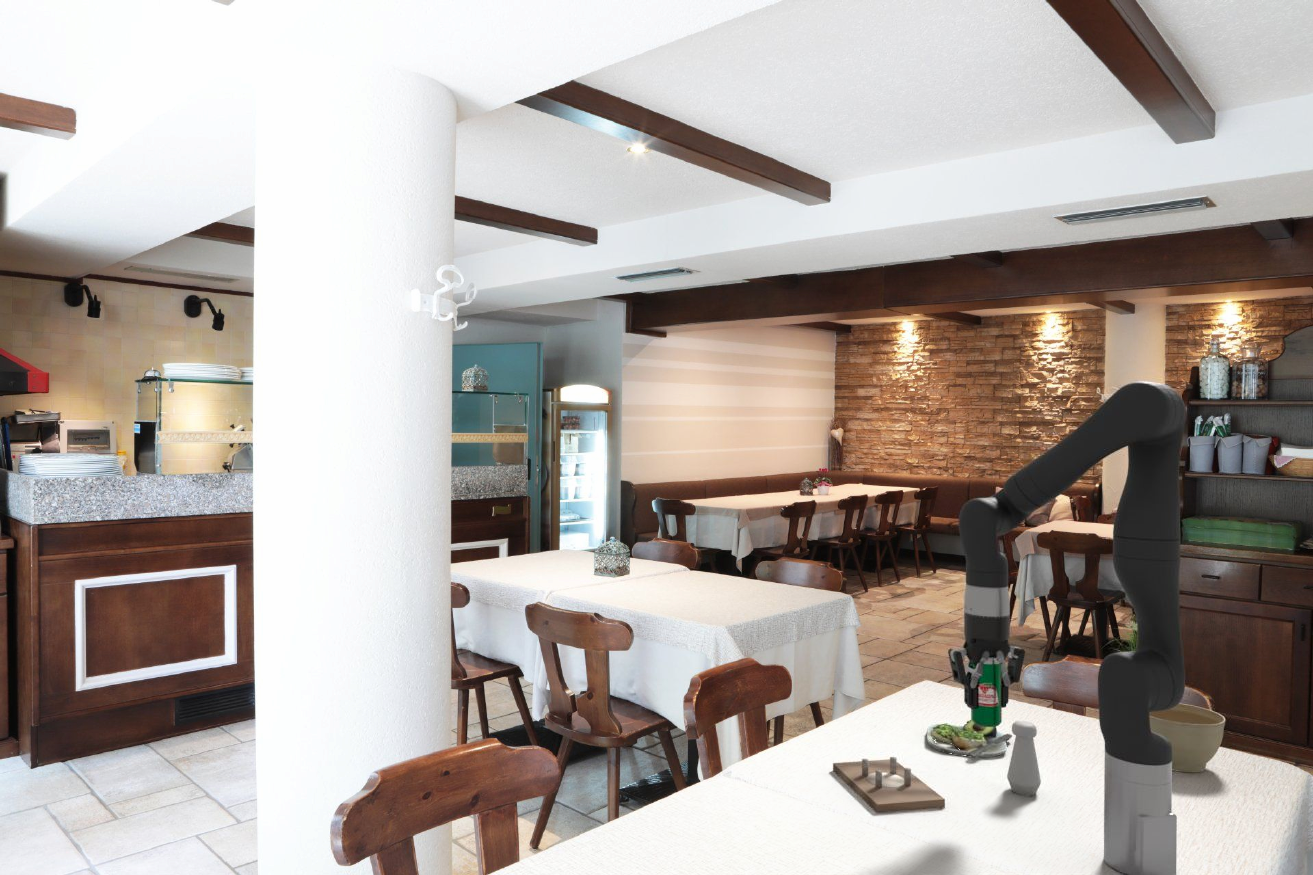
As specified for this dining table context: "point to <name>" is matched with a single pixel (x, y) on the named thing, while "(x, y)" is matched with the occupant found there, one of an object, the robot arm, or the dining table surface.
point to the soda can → (989, 695)
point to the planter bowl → (1189, 735)
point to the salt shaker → (1024, 760)
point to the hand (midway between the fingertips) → (986, 706)
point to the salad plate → (969, 739)
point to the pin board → (888, 785)
